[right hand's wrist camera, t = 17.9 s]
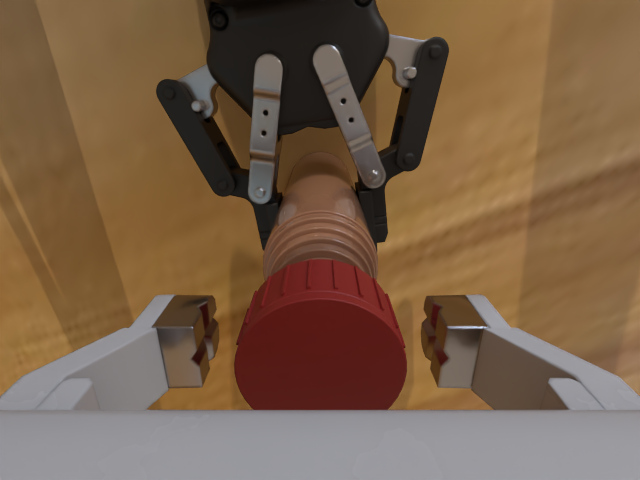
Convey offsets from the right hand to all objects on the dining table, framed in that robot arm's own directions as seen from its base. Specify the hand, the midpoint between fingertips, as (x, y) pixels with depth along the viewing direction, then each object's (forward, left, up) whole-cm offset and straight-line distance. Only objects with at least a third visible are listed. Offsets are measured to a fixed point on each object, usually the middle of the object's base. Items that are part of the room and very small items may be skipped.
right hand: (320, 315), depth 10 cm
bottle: (0, 0, -17) cm, 17 cm away
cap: (0, 0, +2) cm, 2 cm away
